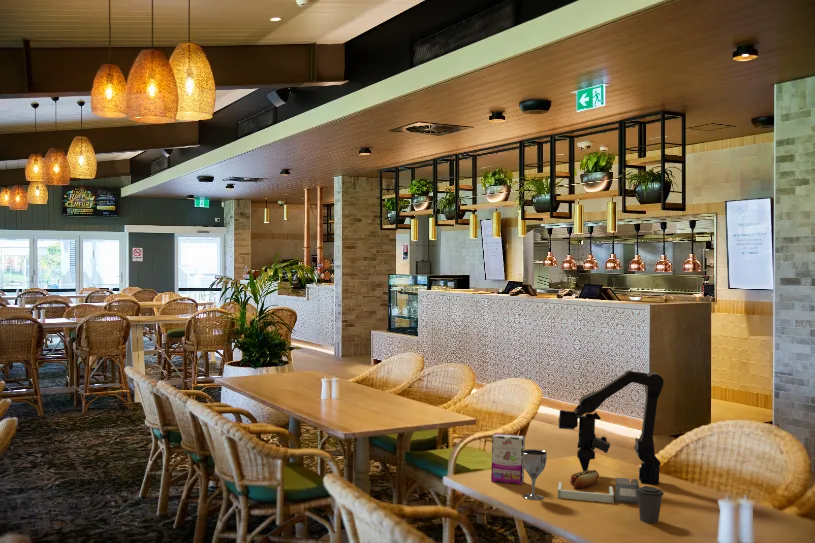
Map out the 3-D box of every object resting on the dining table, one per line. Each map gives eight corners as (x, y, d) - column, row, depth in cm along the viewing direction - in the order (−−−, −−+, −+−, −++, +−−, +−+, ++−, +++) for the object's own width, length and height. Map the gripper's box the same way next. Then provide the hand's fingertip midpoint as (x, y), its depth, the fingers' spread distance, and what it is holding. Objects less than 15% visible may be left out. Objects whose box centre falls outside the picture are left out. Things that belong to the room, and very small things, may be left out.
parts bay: (612, 493, 266) (612, 486, 266) (613, 503, 255) (613, 495, 255) (558, 488, 270) (558, 481, 270) (557, 497, 259) (557, 490, 259)
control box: (637, 496, 263) (638, 478, 263) (639, 504, 255) (640, 485, 255) (614, 494, 265) (614, 476, 265) (615, 501, 257) (616, 482, 257)
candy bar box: (524, 481, 278) (525, 435, 277) (521, 485, 273) (523, 438, 273) (493, 478, 281) (494, 432, 281) (490, 481, 276) (492, 435, 276)
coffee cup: (641, 514, 244) (642, 482, 244) (667, 520, 239) (668, 488, 239) (630, 520, 238) (632, 487, 238) (656, 526, 233) (658, 493, 233)
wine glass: (544, 494, 263) (545, 450, 262) (546, 501, 255) (547, 455, 255) (520, 492, 263) (522, 448, 263) (521, 499, 255) (523, 454, 255)
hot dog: (602, 484, 277) (602, 470, 277) (579, 491, 268) (580, 476, 268) (590, 481, 281) (590, 467, 281) (567, 487, 272) (568, 473, 272)
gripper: (610, 437, 276) (608, 481, 276) (608, 427, 294) (606, 468, 294) (578, 434, 278) (576, 478, 278) (578, 424, 296) (576, 465, 296)
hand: (585, 472), depth 286 cm, fingers closed
